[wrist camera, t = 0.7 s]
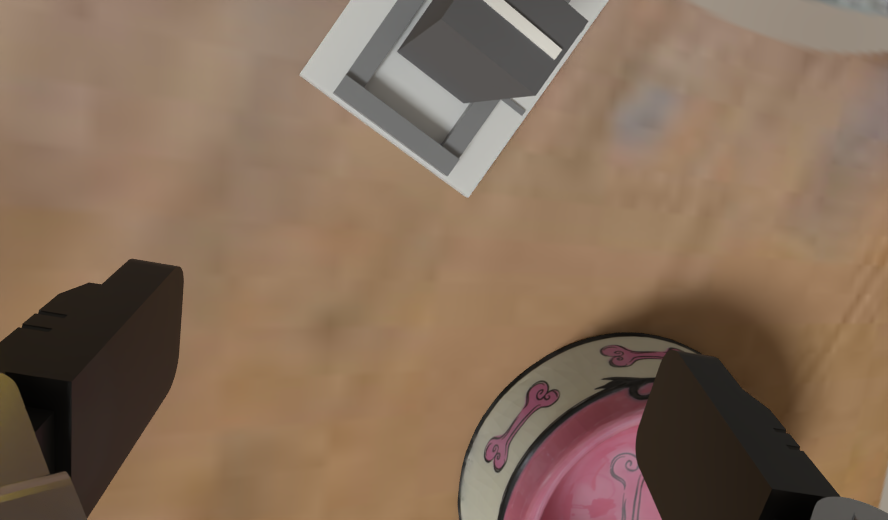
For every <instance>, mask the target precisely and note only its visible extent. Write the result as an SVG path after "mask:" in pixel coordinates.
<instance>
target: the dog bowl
mask: <svg viewBox="0 0 888 520" xmlns="http://www.w3.org/2000/svg"><path fill="white" fill-rule="evenodd" d="M670 350H677V351H683V352H689V353H695V354H701V353H699V352H697V351H695V350H694V349H692V348H689V347H687V346H685V345H683V344H681V343H678V342H676V341H674V340H670V339H667V338H664V337H660V336H655V335H650V334H644V333H612V334H605V335H600V336H596V337H591V338H587V339H585V340H581V341H578V342H575V343H573V344H570V345H568V346H565V347H563V348H561V349H559V350H556V351H554V352H553V353H551V354H549V355H547V356H546V357H544V358H542V359H541V360H539V361H538V362H536V363H535V364H533V365H532V366H531V367H529V368H528V369H527V370H525V371H524V372H523V373H522V374H520V375H519V376H518V377H517V378H515V379H514V380H513V381H512V382H511V383H510V384H509V385H508V386H507V387H506V388H505V389H504V390H503V391H502V392H501V393H500V394H499V396H498V397H497V398H496V399H495V400H494V402H493V403H492V404H491V406H490V407H489V409H488V410H487V411H486V413H485V414H484V416H483V417H482V419H481V421H480V422H479V424H478V426H477V428H476V430H475V432H474V434H473V436H472V439H471V441H470V444H469V446H468V449H467V451H466V455H465V458H464V462H463V465H462V471H461V477H460V483H459V493H458V513H459V520H662V519H661V516H660V514H659V512H658V510H657V507H656V505H655V503H654V501H653V498H652V496H651V494H650V491H649V489H648V487H647V485H646V482H645V480H644V478H643V476H642V473H641V471H640V469H639V466H638V464H637V460H636V451H635V444H636V435H637V430H638V427H639V423H640V421H641V418H642V415H643V412H644V409H645V406H646V403H647V400H648V397H649V395H650V392H651V389H652V386H653V383H654V380H655V377H656V374H657V371H658V368H659V366H660V363H661V361H662V359H663V357H664V355H665V354H666V353H667V352H668V351H670ZM701 355H702V354H701Z"/></svg>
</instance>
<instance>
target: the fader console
mask: <svg viewBox="0 0 888 520" xmlns="http://www.w3.org/2000/svg"><path fill="white" fill-rule="evenodd" d="M432 1H433V0H351V1H350V2H349V4H348V5H347V7H346V8H345V9H344V11H343V12H342V14H341V15H340V17H339V18H338V20H337V21H336V22H335V24H334V25H333V27H332V28H331V30H330V31H329V33H328V34H327V35H326V37H325V38H324V40H323V41H322V43H321V44H320V46H319V47H318V49H317V50H316V51H315V53H314V54H313V56H312V57H311V59H310V60H309V62H308V63H307V64H306V66H305V67H304V69H303V70H302V72H301V73H300V76H301V77H302V78H303V79H305V80H306V81H308V82H309V83H310V84H312V85H313V86H314V87H316V88H317V89H318V90H320V91H321V92H323V93H324V94H325V95H327V96H328V97H329V98H331V99H332V100H333V101H335V102H336V103H338V104H339V105H340V106H342V107H343V108H344V109H346V110H347V111H349V112H350V113H351V114H353V115H354V116H355V117H357V118H358V119H359V120H361V121H362V122H364V123H365V124H366V125H368V126H369V127H370V128H372V129H373V130H374V131H376V132H377V133H379V134H380V135H381V136H383V137H384V138H385V139H387V140H388V141H390V142H391V143H392V144H394V145H395V146H396V147H398V148H399V149H400V150H402V151H403V152H405V153H406V154H407V155H409V156H410V157H411V158H413V159H414V160H415V161H417V162H418V163H420V164H421V165H422V166H424V167H425V168H426V169H428V170H429V171H431V172H432V173H433V174H435V175H436V176H437V177H439V178H440V179H441V180H443V181H444V182H446V183H447V184H448V185H450V186H451V187H452V188H454V189H455V190H457V191H458V192H459V193H461V194H462V195H463V196H465V197H467V198H468V197H469V196H470V195H471V193H472V192H473V190H474V189H475V188H476V186H477V185H478V183H479V182H480V180H481V179H482V178H483V176H484V175H485V173H486V172H487V171H488V169H489V168H490V166H491V165H492V164H493V162H494V161H495V159H496V158H497V157H498V155H499V154H500V152H501V151H502V150H503V148H504V147H505V145H506V144H507V143H508V141H509V140H510V138H511V137H512V135H513V134H514V133H515V131H516V130H517V128H518V127H519V126H520V124H521V123H522V121H523V120H524V119H525V117H526V116H527V114H528V113H529V112H530V110H531V109H532V107H533V106H534V105H535V103H536V102H537V100H538V99H539V98H540V96H541V95H542V93H543V92H544V90H545V89H546V88H547V86H548V85H549V83H550V82H551V81H552V79H553V78H554V76H555V75H556V74H557V72H558V71H559V69H560V68H561V67H562V65H563V64H564V62H565V61H566V60H567V58H568V57H569V55H570V54H571V52H572V51H573V50H574V48H575V47H576V45H577V44H578V43H579V41H580V40H581V38H582V37H583V36H584V34H585V33H586V31H587V30H588V29H589V27H590V26H591V24H592V23H593V22H594V20H595V19H596V17H597V16H598V15H599V13H600V12H601V10H602V9H603V7H604V6H605V5H606V3H607V2H608V0H565V1H566V2H567V3H568V4H569V5H571V6H572V7H573V8H574V9H575V10H576V11H577V12H579V13H580V14H581V15H582V16H583V17H584V18H585V19H587V20H588V23H587V24H586V26H585V27H584V28H583V30H582V31H581V33H580V34H579V36H578V37H577V38H576V40H575V41H574V43H573V44H572V45H571V47H570V48H569V50H568V51H567V52H566V54H565V55H564V57H563V58H562V59H561V61H560V62H559V64H558V65H557V66H556V68H555V69H554V71H553V72H552V74H551V75H550V76H549V78H548V79H547V81H546V82H545V83H544V85H543V86H542V88H541V89H540V90H539V92H538V93H537V95H536V96H528V97H519V98H509V99H500V100H491V101H481V102H472V103H462V102H461V101H460V100H458V99H457V98H456V97H455V96H453V95H452V94H451V93H449V92H448V91H447V90H446V89H444V88H443V87H442V86H440V85H439V84H438V83H437V82H435V81H434V80H433V79H431V78H430V77H429V76H428V75H426V74H425V73H424V72H422V71H421V70H420V69H419V68H417V67H416V66H415V65H413V64H412V63H411V62H410V61H408V60H407V59H406V58H404V57H403V56H402V55H400V54H399V53H398V52H397V51H398V49H399V48H400V46H401V45H402V44H403V42H404V41H405V39H406V38H407V36H408V35H409V34H410V32H411V31H412V29H413V28H414V26H415V25H416V23H417V22H418V21H419V19H420V18H421V16H422V15H423V13H424V12H425V11H426V9H427V8H428V6H429V5H430V3H431V2H432Z"/></svg>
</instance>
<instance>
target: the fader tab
mask: <svg viewBox="0 0 888 520" xmlns="http://www.w3.org/2000/svg"><path fill="white" fill-rule="evenodd" d="M587 23H588V20H587V19H585V18H584V17H583V16H582V15H581V14H580V13H579V12H577V11H576V10H575V9H574V8H573V7H572V6H571V5H569V4H568V3H567V2H566V1H565V0H433V1H432V2H431V3H430V5H429V6H428V8H427V9H426V11H425V12H424V13H423V15H422V16H421V18H420V19H419V21H418V22H417V23H416V25H415V26H414V28H413V29H412V31H411V32H410V34H409V35H408V36H407V38H406V39H405V41H404V42H403V44H402V45H401V46H400V48H399V49H398V51H397V52H398V53H399V54H400V55H402V56H403V57H404V58H406V59H407V60H408V61H410V62H411V63H412V64H413V65H415V66H416V67H417V68H419V69H420V70H421V71H422V72H424V73H425V74H426V75H428V76H429V77H430V78H431V79H433V80H434V81H435V82H437V83H438V84H439V85H440V86H442V87H443V88H444V89H446V90H447V91H448V92H449V93H451V94H452V95H453V96H455V97H456V98H457V99H458V100H460V101H461V102H462V103H472V102H481V101H491V100H500V99H509V98H519V97H528V96H536V95H537V93H538V92H539V90H540V89H541V88H542V86H543V85H544V83H545V82H546V81H547V79H548V78H549V76H550V75H551V74H552V72H553V71H554V69H555V68H556V66H557V65H558V64H559V62H560V61H561V59H562V58H563V57H564V55H565V54H566V52H567V51H568V50H569V48H570V47H571V45H572V44H573V43H574V41H575V40H576V38H577V37H578V36H579V34H580V33H581V31H582V30H583V28H584V27H585V26H586V24H587Z"/></svg>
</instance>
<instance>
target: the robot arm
mask: <svg viewBox="0 0 888 520" xmlns="http://www.w3.org/2000/svg"><path fill="white" fill-rule="evenodd" d="M183 284H184V278H183V271H182V269H181V267H179V266H173V265H167V264H161V263H155V262H149V261H143V260H137V259H130V260H128V261H127V262H126V263H125V264H124V265H123V266H122V267H120V268H119V269H118V270H117V271H116V272H115V273H114V274H113V275H112V276H110V277H109V278H108V279H107V280H106V281H105V282H104V283H103V284H102V285H101V284H95V283H87V284H84V285H82V286H79V287H76V288H74V289H71V290H68V291H66V292H63V293H60V294H58V295H57V296H56V297H55V298H53V299H52V300H51V301H50V302H49V303H47V304H46V305H45V306H44V307H42V308H41V309H40V310H39V313H38V314H34V315H33V316H32V317H30V318H29V319H28V320H27V321H25V322H24V323H23V325H22V328H19V327H18V328H17V329H16V330H15V331H13V332H12V333H11V334H10V335H8V336H7V337H6V338H5V339H4V340H2V341H1V342H0V520H87V518H88V516H89V515H90V513H91V512H92V510H93V508H94V507H95V505H96V504H97V502H98V501H99V499H100V498H101V496H102V494H103V493H104V491H105V490H106V488H107V487H108V485H109V484H110V482H111V481H112V479H113V477H114V476H115V474H116V473H117V471H118V470H119V468H120V467H121V465H122V463H123V462H124V460H125V459H126V457H127V456H128V454H129V453H130V451H131V450H132V448H133V446H134V445H135V443H136V442H137V440H138V439H139V437H140V436H141V434H142V433H143V431H144V429H145V428H146V426H147V425H148V423H149V422H150V420H151V419H152V417H153V415H154V414H155V412H156V411H157V409H158V408H159V406H160V405H161V403H162V402H163V400H164V398H165V397H166V395H167V394H168V392H169V390H170V388H171V385H172V383H173V380H174V377H175V373H176V369H177V364H178V358H179V346H180V331H181V315H182V300H183ZM799 448H800V446H799V445H798V444H797V443H796V441H795V440H794V439H793V438H792V437H791V435H790V434H786V429H785V428H784V427H783V425H782V424H781V423H780V422H779V421H778V419H777V418H776V417H775V416H774V414H773V413H772V412H771V411H770V410H769V409H768V408H767V407H765V406H764V405H763V404H761V403H760V402H759V401H757V400H756V399H755V398H753V397H752V396H751V395H749V394H748V393H747V392H745V391H744V390H743V389H742V388H741V387H740V386H739V384H738V383H737V382H736V381H735V379H734V378H733V377H732V375H731V374H730V373H729V372H728V370H727V369H726V368H725V367H724V365H723V364H722V363H721V361H720V360H719V359H718V358H716V357H713V356H707V355H701V354H695V353H689V352H683V351H677V350H670V351H668V352H667V353H666V354H665V355H664V357H663V359H662V361H661V363H660V366H659V368H658V371H657V374H656V377H655V380H654V383H653V386H652V389H651V392H650V395H649V397H648V400H647V403H646V406H645V409H644V412H643V415H642V418H641V421H640V423H639V427H638V430H637V435H636V444H635V451H636V460H637V464H638V466H639V469H640V471H641V473H642V476H643V478H644V480H645V482H646V485H647V487H648V489H649V491H650V494H651V496H652V498H653V501H654V503H655V505H656V507H657V510H658V512H659V514H660V516H661V519H662V520H888V513H886V512H884V511H882V510H880V509H878V508H876V507H873V506H871V505H869V504H866V503H863V502H861V501H857V500H854V499H850V498H844V497H840V496H839V494H838V493H837V492H836V491H835V489H834V488H833V487H832V486H831V484H830V483H829V482H828V481H827V480H826V478H825V477H824V476H823V475H822V473H821V472H820V471H819V470H818V469H817V467H816V466H815V465H814V464H813V462H812V461H811V460H810V459H809V457H808V456H807V455H806V454H805V453H804V451H800V450H799Z"/></svg>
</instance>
